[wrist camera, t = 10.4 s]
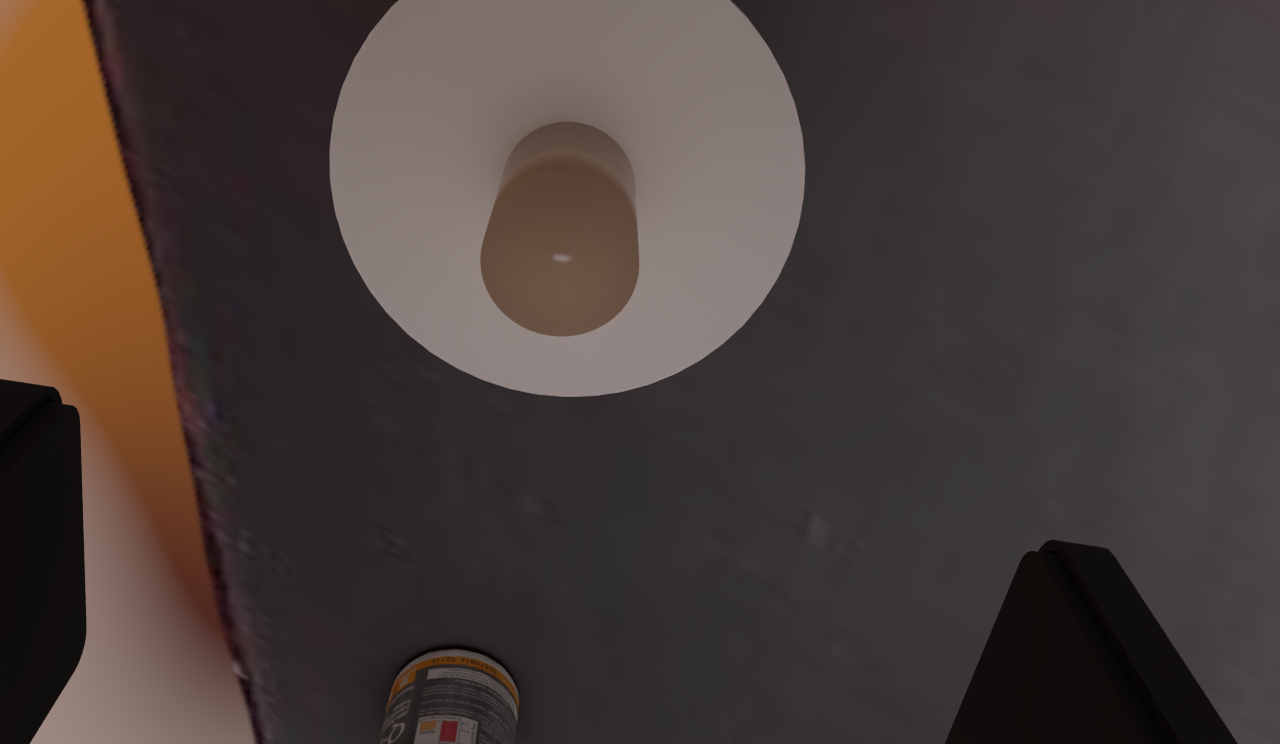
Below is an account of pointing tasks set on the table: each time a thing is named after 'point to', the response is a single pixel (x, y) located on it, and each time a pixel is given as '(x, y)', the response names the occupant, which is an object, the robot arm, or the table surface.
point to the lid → (567, 183)
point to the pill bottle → (452, 701)
